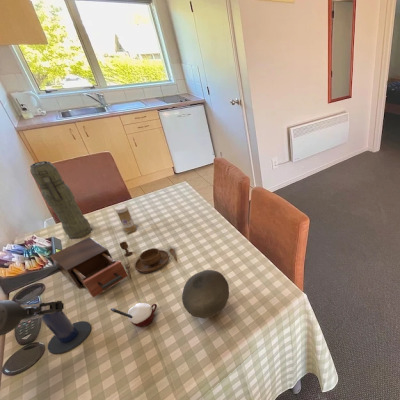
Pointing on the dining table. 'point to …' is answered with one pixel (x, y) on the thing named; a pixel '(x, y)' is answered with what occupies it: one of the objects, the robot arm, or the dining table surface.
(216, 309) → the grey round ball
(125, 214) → the sprinkles bottle
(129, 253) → the place setting
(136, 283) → the dining table surface
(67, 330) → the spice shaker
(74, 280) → the cabinet
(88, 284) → the drawer
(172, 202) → the dining table surface
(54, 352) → the mat
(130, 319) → the cocoa
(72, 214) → the olive carved slab
